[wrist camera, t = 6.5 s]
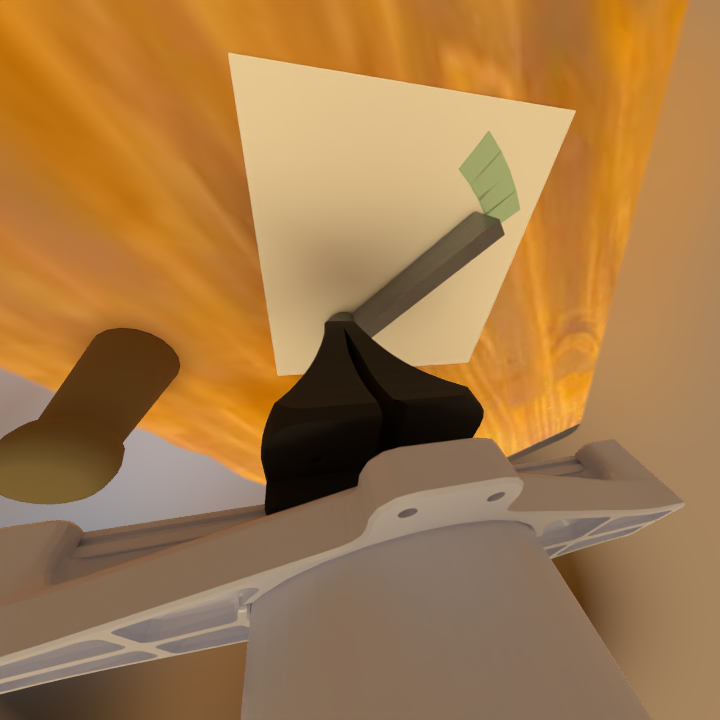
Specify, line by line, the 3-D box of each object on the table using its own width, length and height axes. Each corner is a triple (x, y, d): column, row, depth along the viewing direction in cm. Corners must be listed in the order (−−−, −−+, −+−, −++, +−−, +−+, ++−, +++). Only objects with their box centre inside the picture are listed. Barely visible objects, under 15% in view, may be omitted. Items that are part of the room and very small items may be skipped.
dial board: (463, 357, 29) (468, 363, 28) (278, 369, 25) (277, 376, 24) (563, 112, 17) (577, 110, 16) (231, 58, 13) (227, 51, 12)
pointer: (341, 350, 24) (347, 372, 21) (316, 328, 22) (319, 351, 19) (485, 236, 20) (512, 248, 17) (470, 198, 18) (498, 206, 15)
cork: (145, 318, 20) (35, 442, 11) (195, 373, 24) (141, 497, 15) (68, 341, 20) (-101, 484, 11) (131, 393, 24) (40, 528, 15)
